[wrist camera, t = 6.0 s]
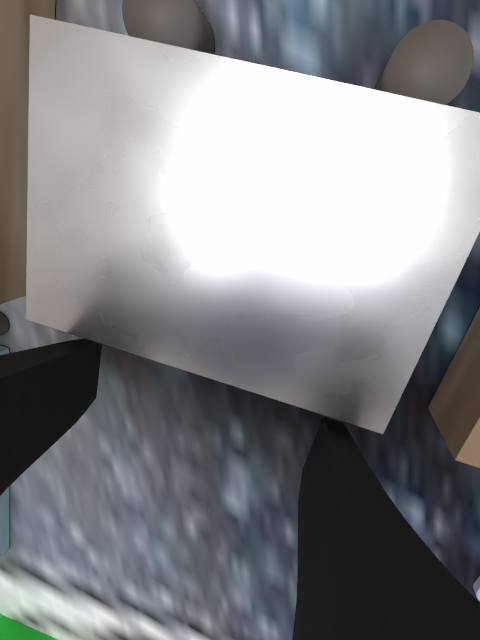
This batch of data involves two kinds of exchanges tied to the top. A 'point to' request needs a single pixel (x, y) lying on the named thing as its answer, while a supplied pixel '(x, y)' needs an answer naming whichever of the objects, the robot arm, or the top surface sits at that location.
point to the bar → (4, 503)
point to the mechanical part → (19, 631)
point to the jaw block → (243, 217)
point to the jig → (196, 34)
